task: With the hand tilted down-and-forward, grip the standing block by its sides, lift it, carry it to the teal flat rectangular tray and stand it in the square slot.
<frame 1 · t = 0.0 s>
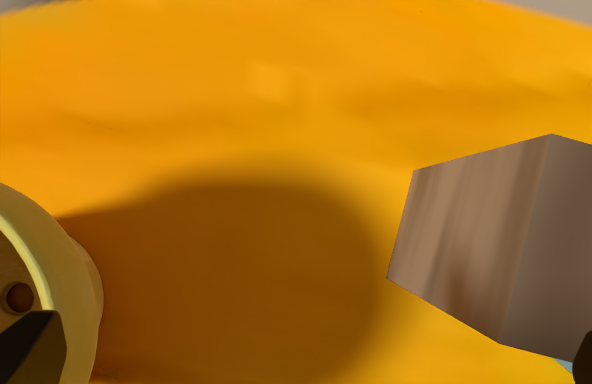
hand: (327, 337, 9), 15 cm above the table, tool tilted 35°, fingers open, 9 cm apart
block: (452, 238, 25), on the table
plant pot: (28, 296, 24), on the table
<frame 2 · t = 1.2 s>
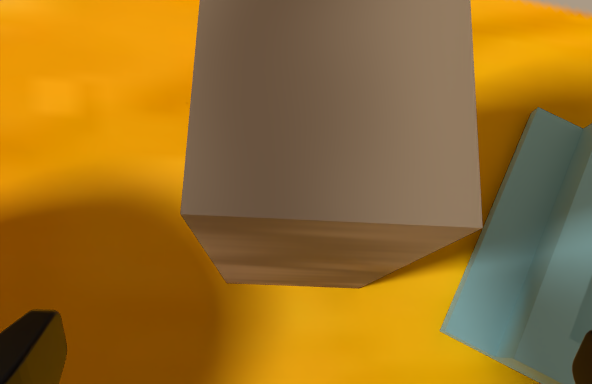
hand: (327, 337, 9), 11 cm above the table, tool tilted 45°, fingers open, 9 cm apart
block: (295, 220, 21), on the table
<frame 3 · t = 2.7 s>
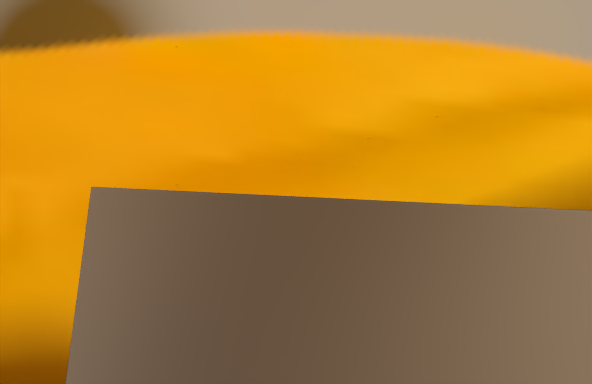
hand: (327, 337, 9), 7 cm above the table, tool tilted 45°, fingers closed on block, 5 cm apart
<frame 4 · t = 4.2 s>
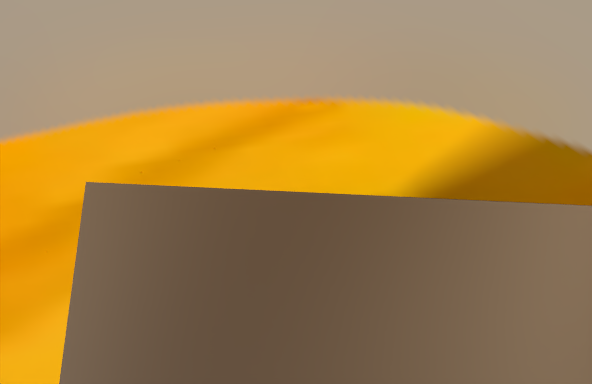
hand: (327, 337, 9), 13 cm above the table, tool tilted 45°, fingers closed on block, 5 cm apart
block: (297, 383, 15), point 7 cm above the table, touching gripper
when the fingers open (8 cm above the table, at t = 5.8 s): block drops 1 cm, resting on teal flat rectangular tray.
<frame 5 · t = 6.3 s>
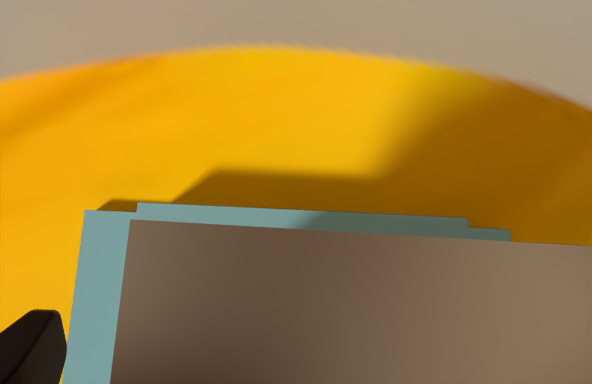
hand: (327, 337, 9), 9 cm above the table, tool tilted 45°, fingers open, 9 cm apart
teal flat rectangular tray: (295, 378, 17), on the table
block: (294, 380, 17), point 1 cm above the table, touching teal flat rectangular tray
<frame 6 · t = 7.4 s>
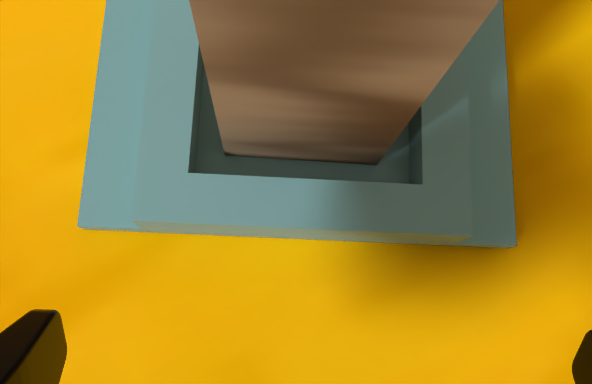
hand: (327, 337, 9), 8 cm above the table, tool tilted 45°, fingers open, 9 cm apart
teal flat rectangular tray: (305, 96, 19), on the table
block: (304, 89, 18), point 1 cm above the table, touching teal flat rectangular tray
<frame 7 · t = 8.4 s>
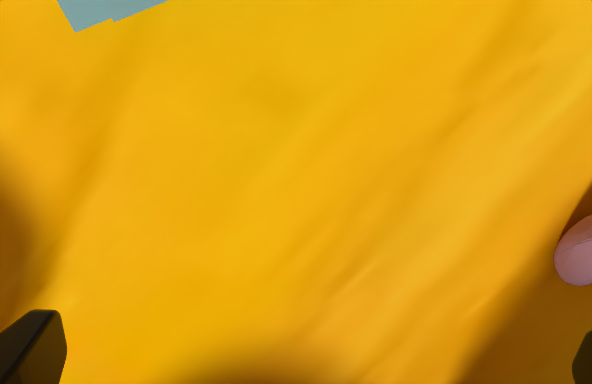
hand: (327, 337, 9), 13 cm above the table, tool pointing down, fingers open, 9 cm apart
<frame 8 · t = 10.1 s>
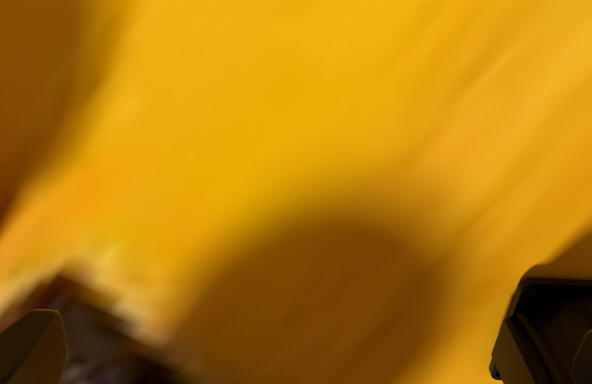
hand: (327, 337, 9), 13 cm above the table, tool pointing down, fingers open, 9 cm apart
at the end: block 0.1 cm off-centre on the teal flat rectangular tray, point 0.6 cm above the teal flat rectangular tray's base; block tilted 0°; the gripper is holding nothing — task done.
